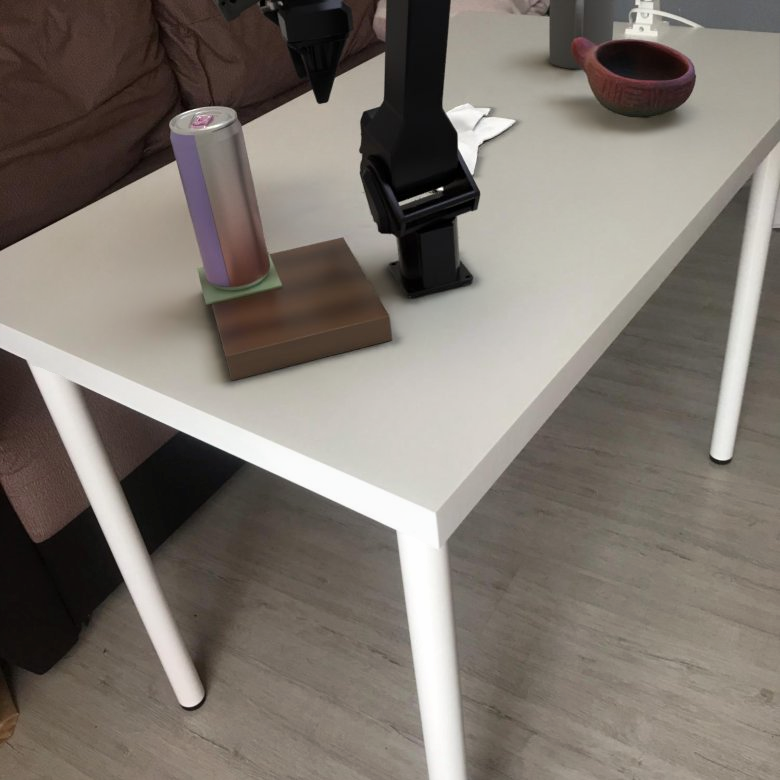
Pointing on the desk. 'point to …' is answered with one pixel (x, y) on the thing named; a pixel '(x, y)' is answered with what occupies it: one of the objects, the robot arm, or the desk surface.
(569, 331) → the desk surface
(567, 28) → the mug
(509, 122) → the cloth
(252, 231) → the beverage can
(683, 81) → the bowl
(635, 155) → the desk surface
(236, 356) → the brown wooden board
